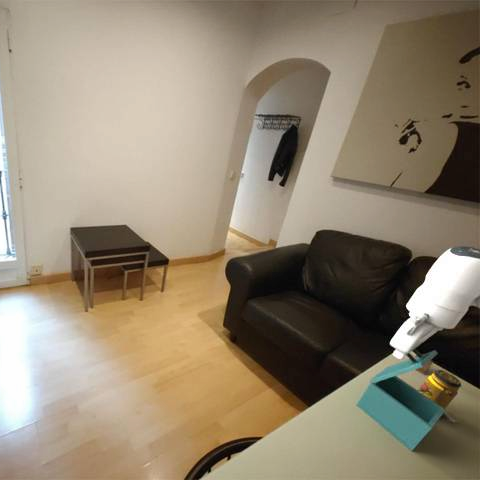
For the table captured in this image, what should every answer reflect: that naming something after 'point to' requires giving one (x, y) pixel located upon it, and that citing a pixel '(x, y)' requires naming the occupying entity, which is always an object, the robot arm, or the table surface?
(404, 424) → the teal hinged box
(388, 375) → the teal box lid
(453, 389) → the condiment
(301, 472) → the table surface
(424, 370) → the block
